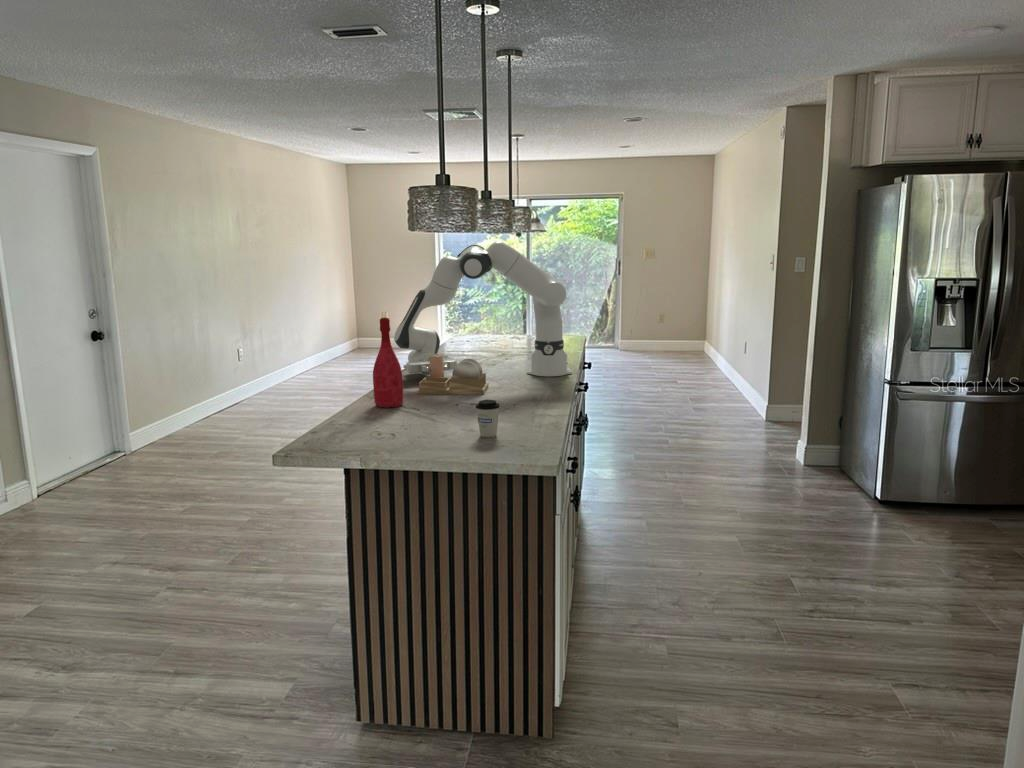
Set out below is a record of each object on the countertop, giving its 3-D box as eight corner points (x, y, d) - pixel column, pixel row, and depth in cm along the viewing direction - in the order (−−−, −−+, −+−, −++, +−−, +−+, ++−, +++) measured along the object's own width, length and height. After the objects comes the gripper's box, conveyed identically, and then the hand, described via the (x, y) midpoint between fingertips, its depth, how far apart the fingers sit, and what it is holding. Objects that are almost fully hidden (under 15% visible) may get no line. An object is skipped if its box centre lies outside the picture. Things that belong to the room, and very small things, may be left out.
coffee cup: (487, 431, 200) (486, 397, 198) (505, 435, 195) (504, 400, 193) (471, 436, 194) (470, 402, 192) (489, 440, 190) (488, 405, 188)
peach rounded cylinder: (431, 382, 272) (430, 354, 270) (445, 382, 271) (444, 354, 269) (428, 385, 267) (427, 357, 264) (442, 385, 266) (441, 357, 264)
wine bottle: (369, 407, 231) (363, 319, 225) (382, 401, 240) (378, 315, 234) (395, 409, 228) (391, 319, 222) (408, 402, 237) (404, 316, 231)
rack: (426, 386, 263) (425, 357, 261) (488, 386, 261) (487, 357, 259) (418, 394, 251) (417, 363, 248) (483, 394, 248) (482, 363, 246)
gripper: (401, 358, 275) (411, 363, 262) (449, 353, 283) (461, 358, 270) (402, 373, 276) (412, 379, 263) (450, 369, 284) (462, 374, 272)
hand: (437, 368), depth 267 cm, fingers closed on peach rounded cylinder, 5 cm apart
